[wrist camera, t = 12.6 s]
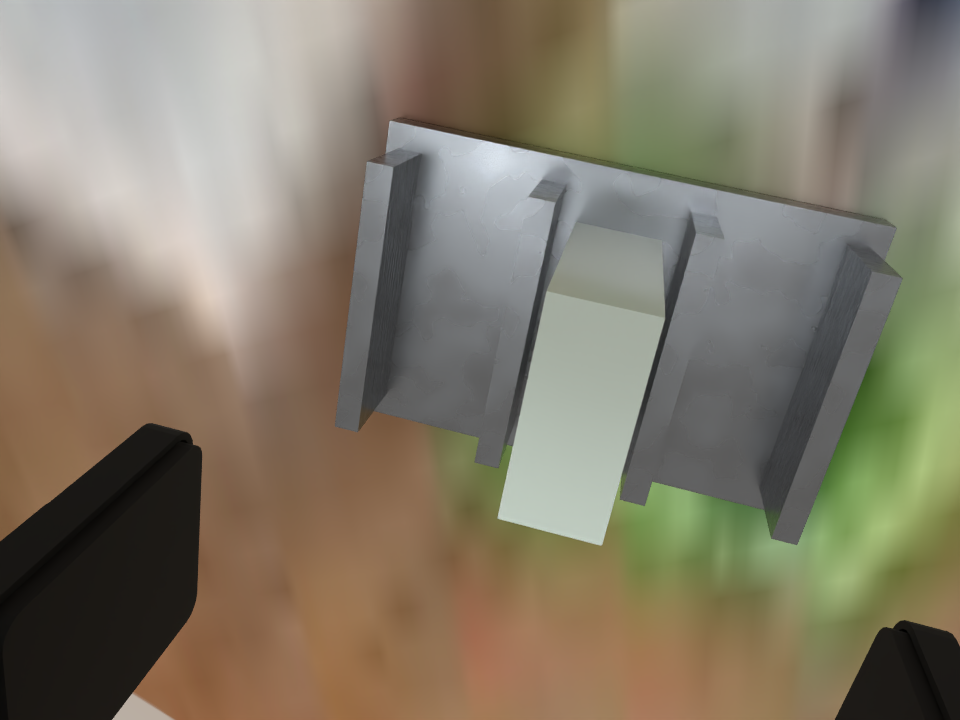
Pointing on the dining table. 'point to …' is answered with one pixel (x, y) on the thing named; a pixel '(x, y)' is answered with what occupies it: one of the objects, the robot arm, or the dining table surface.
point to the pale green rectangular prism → (586, 383)
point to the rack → (686, 330)
